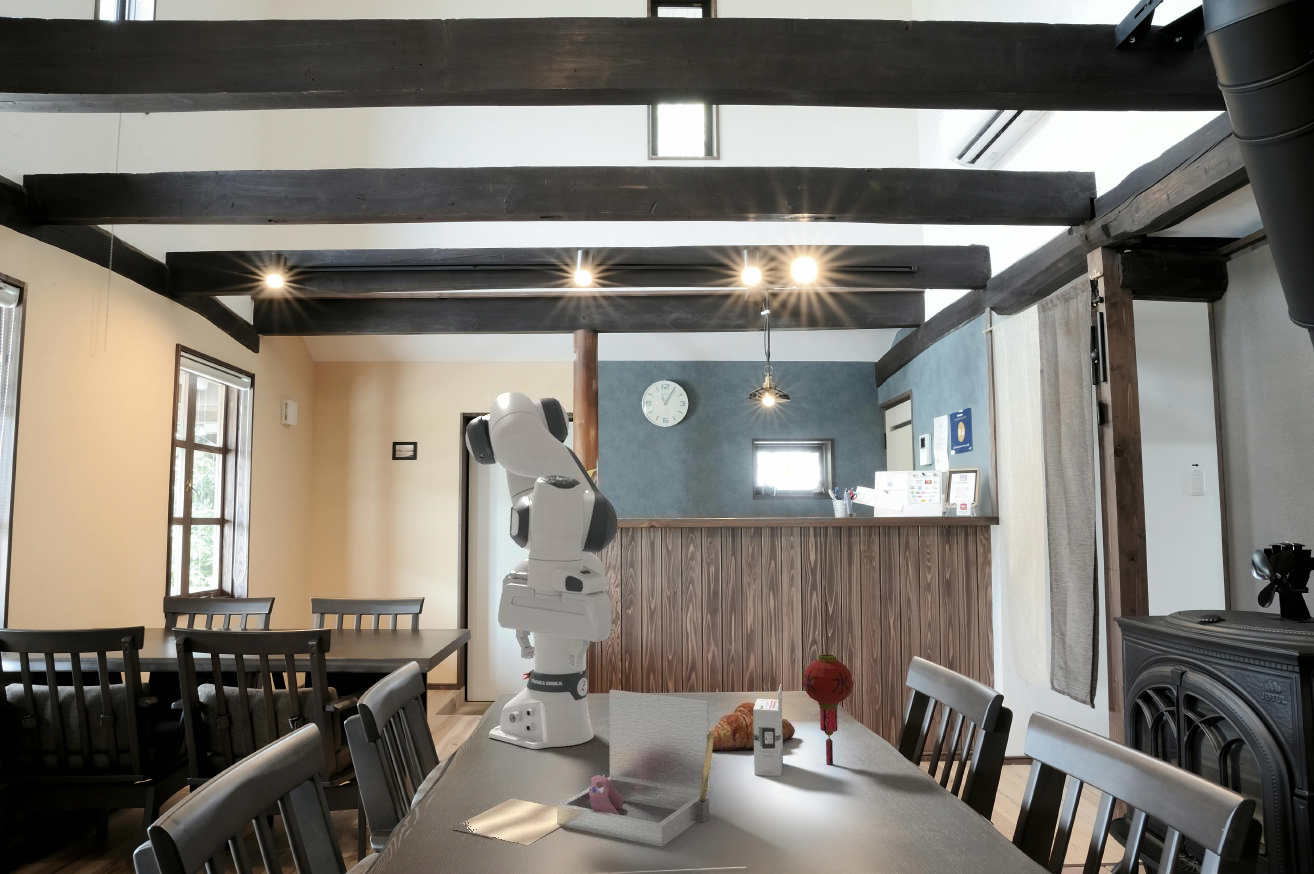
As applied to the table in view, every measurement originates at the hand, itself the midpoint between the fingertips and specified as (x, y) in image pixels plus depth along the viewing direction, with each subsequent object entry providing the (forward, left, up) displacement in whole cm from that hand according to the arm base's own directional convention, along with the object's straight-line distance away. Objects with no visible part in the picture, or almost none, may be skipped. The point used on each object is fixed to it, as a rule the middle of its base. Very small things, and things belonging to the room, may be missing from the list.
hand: (551, 662), depth 134 cm
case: (+14, +2, -24) cm, 27 cm away
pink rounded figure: (+11, +1, -24) cm, 26 cm away
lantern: (+32, +44, -24) cm, 60 cm away
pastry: (+13, +50, -24) cm, 57 cm away
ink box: (+23, +36, -24) cm, 49 cm away
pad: (-1, -7, -24) cm, 24 cm away
